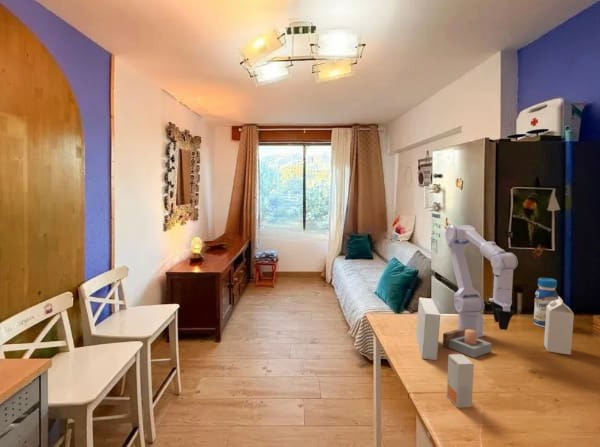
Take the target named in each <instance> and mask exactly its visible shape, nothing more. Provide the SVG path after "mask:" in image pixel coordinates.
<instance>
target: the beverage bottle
mask: <svg viewBox="0 0 600 447" xmlns="http://www.w3.org/2000/svg"><path fill="white" fill-rule="evenodd" d="M537 286H538V288H537V289H536V291H535V293H534V295H535V297H534V310H533V324H535V325H536V326H538V327H541V328H545V323H546V308H547V305H548V304H549V303H550V302H551V301H555V300H557V299H558V296H559V294H558V292H557V290H556V288H557V286H558V281H557V279H554V278H549V277H539V278H538V279H537Z"/></svg>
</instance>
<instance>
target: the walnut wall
mask: <svg viewBox="0 0 600 447" xmlns="http://www.w3.org/2000/svg"><path fill="white" fill-rule="evenodd" d="M465 330H466V328H461V329H458V328H457V329H454V330H451V331H448V332H444V333H442V334H443V335H442V347H443V348H445V349H448V348H449V339H452V338H455V337H459V336H462V335H465Z"/></svg>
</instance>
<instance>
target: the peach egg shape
mask: <svg viewBox="0 0 600 447" xmlns="http://www.w3.org/2000/svg"><path fill="white" fill-rule="evenodd" d="M464 343H465V344H468V345H470V346H475V345H477V331H475V330H471V329H466V330H465V340H464Z"/></svg>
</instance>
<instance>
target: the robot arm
mask: <svg viewBox="0 0 600 447" xmlns="http://www.w3.org/2000/svg"><path fill="white" fill-rule="evenodd" d="M444 235H445V239H446V244H447V247H448V250H449V254H450V258H451V263H452V267H453V272H454V276H455V279H456V284H457V288H458V289H457V291H456V292H455V293H454V295H453V299H454V302H453V305H454V308H455V311H456V313H458V317H457V318H458V321H457V322H458V323H457V330H458V329H461V328H466V329H471V330H475V331H477V338H478V339H480V338H483V337H484V336H485V335H486V334H485V333H484V317H483V315H482V313H481V312H483V311H484V309H485V303H484V299H483V298H482V296H481V294H480V292H479V291H478V290H477V289H475V287H473V282H472V278H471V274H470V272H469V266H468V263H467V258H466V255H465V251H464V250H465V248H466V247H468V246H469V245H470V244H472V245H474V246H476V247H477V248H478V249H479V252H480V254H481V255H482V256H483V257H485V258H486V259H487V260H488V261H490V265H491V267H492V273H493V287H492V288H493V289H492V290H493V293H492V297H489V298H488V301H489V303H490V306H491V309H492V312H493V320H494V322H495V323H498V327H499V329H500V330H505V331H507V330H508V327H509V324H510V321H511V319H512V317H513V316H514V315H515V311H514V310H513V309H512V310H511V306H512V303H513V300H512V299H513V296H512V294H513V281H514V280H513V279H514V278H513V277H514V270H515V269H516V268H517V267H518V264H519V262H518V257H517V256H516V255H515V254H514V253H513V252H506V251H505V249H503V248H501V247H500V246H498V245H497V244H496V242H495V241H489V240H488V241H487V240H485V239H484V237H482V236H481V235H480V234H479V233H478V232H477V230H476V228H475V227H473V226H472V225H471V224H467V225H463V224H461V225H458V224H457V225H452V224H450V225H448V226H447V228H446V230H445V232H444Z"/></svg>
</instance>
